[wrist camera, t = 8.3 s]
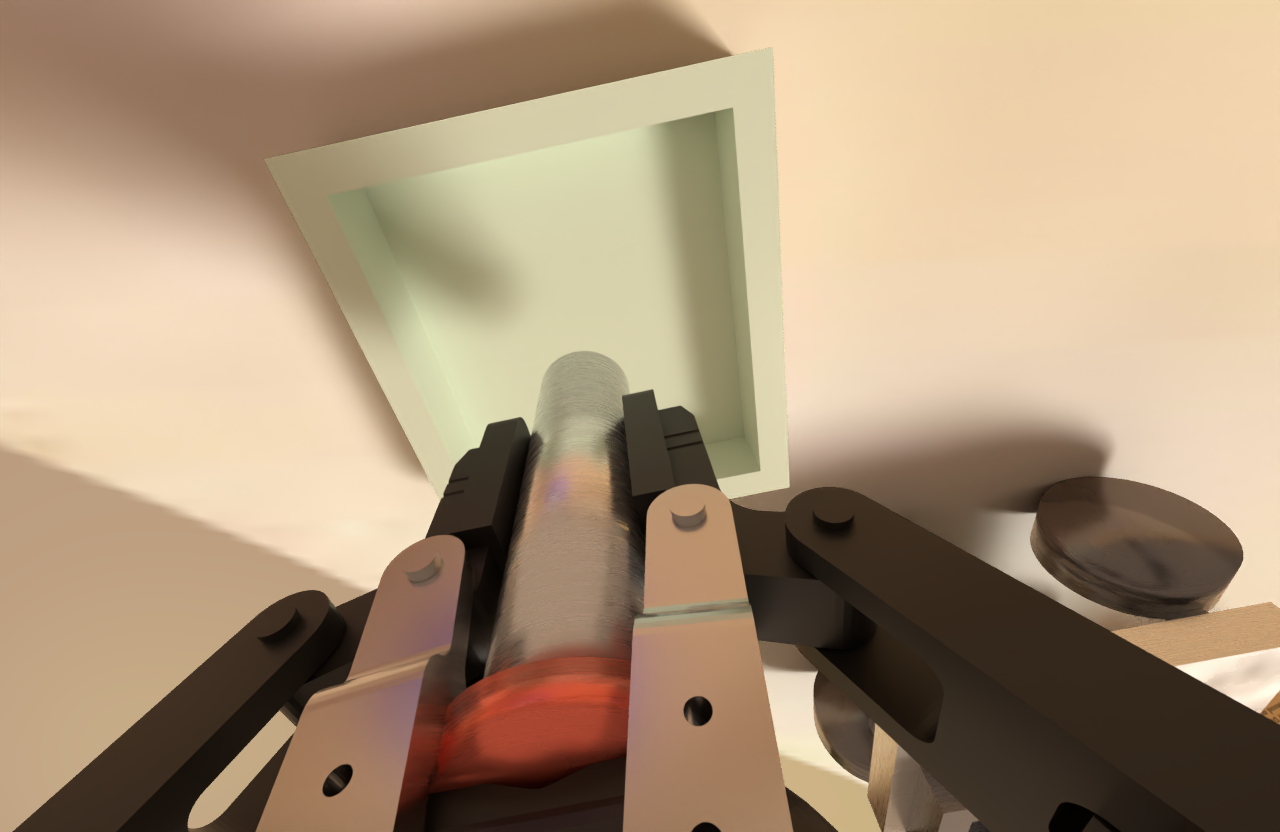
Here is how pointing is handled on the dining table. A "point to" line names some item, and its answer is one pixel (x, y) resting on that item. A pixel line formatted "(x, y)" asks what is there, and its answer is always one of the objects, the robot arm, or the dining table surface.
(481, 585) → the robot arm
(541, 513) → the pin
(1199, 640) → the trolley
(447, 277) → the tray
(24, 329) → the dining table surface
